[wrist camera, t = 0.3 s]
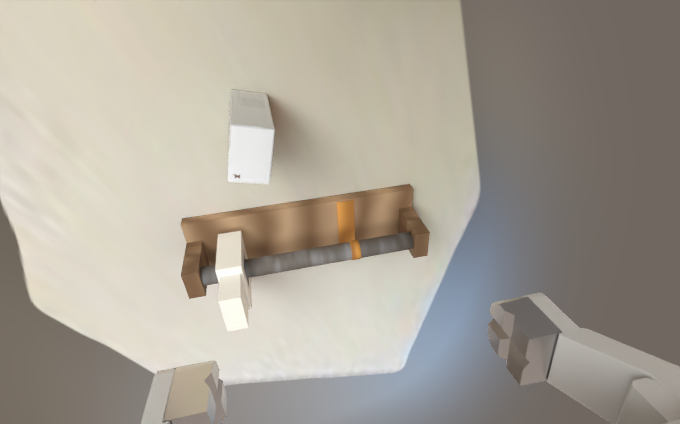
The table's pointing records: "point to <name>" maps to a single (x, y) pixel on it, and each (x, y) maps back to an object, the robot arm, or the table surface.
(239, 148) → the skincare box
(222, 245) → the collar
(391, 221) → the pipe stand
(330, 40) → the table surface
